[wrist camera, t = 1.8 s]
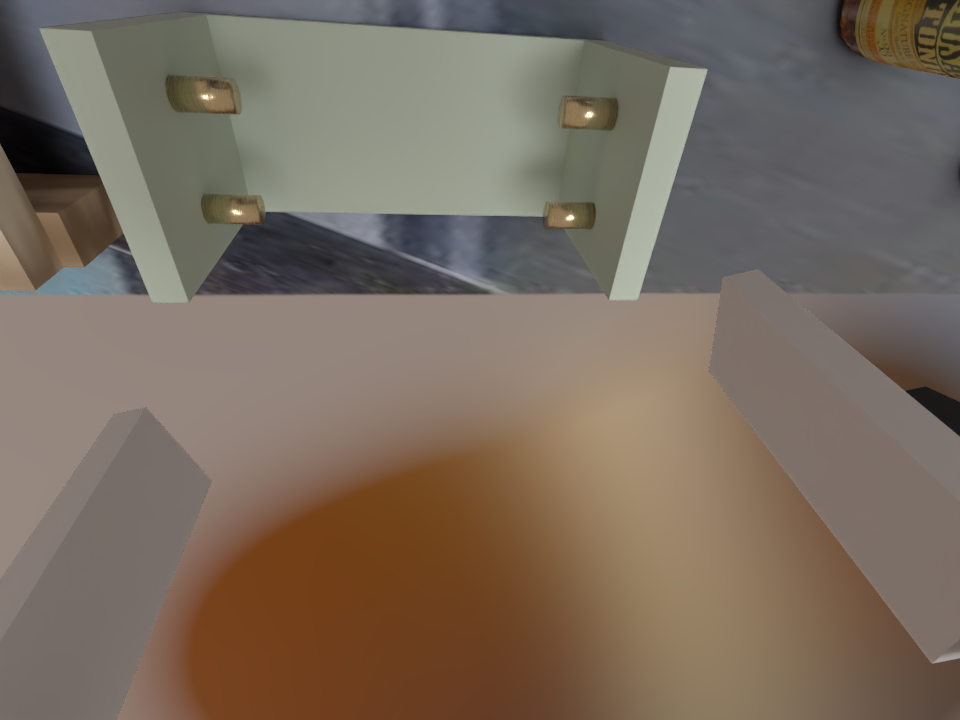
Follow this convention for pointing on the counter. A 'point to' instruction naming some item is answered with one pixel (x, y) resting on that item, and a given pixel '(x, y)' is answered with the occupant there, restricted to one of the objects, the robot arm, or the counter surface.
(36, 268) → the shelf board
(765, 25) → the counter surface
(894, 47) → the sauce bottle
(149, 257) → the shelf frame
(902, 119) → the counter surface
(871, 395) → the robot arm
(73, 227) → the blocks
